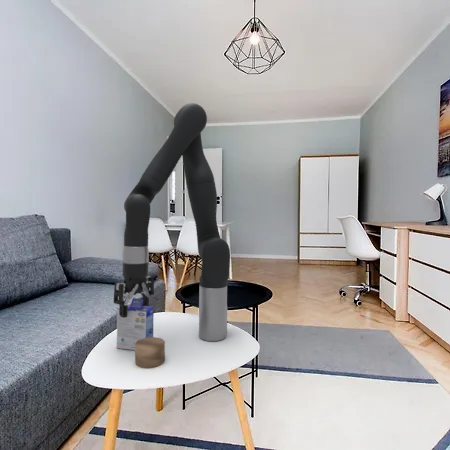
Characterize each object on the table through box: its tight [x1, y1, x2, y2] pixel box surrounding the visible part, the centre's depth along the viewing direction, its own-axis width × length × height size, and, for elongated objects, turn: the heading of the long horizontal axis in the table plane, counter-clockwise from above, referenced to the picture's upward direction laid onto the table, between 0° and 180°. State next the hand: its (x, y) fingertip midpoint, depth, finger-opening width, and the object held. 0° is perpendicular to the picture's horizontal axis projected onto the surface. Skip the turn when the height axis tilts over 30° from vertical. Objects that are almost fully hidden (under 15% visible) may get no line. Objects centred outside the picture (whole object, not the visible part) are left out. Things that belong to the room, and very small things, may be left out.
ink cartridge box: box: [116, 297, 155, 351], centre depth 96 cm, size 10×6×14 cm, turn 78°
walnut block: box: [134, 336, 166, 369], centre depth 87 cm, size 8×8×5 cm
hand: (134, 313), depth 96 cm, fingers open, 8 cm apart
